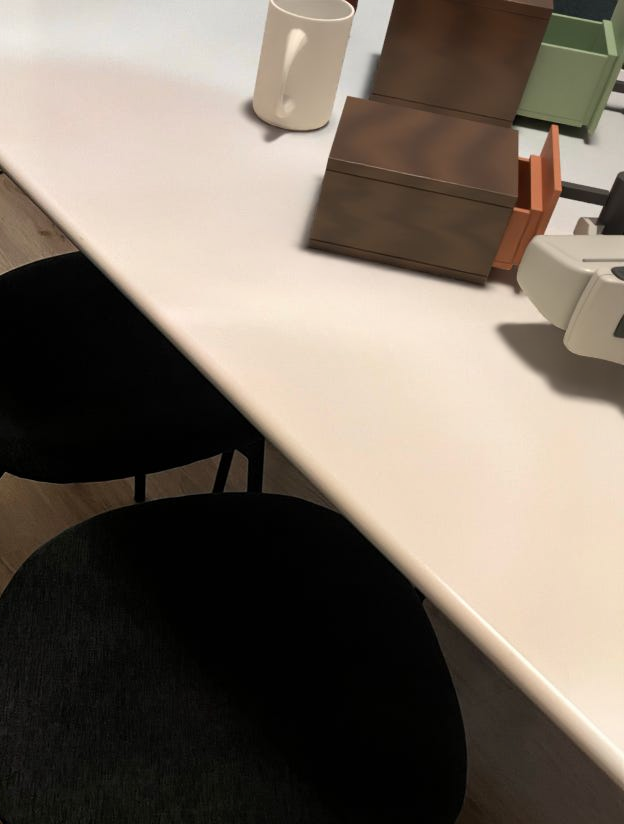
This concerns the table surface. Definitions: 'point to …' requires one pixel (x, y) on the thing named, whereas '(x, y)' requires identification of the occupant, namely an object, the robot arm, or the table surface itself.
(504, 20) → the wooden drawer cabinet
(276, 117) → the mug
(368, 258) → the cubby low
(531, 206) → the orange drawer
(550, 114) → the green drawer
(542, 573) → the table surface
